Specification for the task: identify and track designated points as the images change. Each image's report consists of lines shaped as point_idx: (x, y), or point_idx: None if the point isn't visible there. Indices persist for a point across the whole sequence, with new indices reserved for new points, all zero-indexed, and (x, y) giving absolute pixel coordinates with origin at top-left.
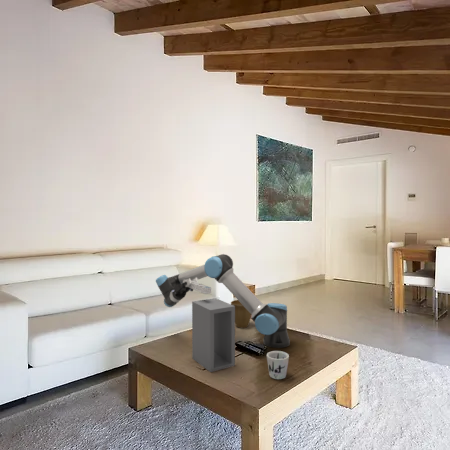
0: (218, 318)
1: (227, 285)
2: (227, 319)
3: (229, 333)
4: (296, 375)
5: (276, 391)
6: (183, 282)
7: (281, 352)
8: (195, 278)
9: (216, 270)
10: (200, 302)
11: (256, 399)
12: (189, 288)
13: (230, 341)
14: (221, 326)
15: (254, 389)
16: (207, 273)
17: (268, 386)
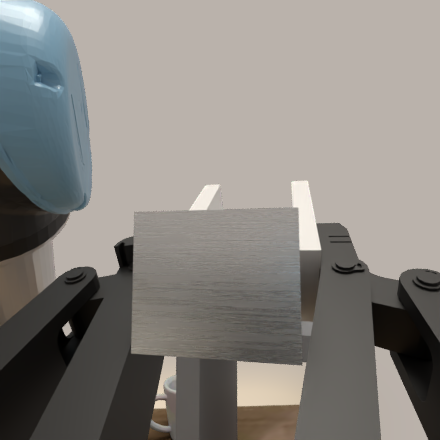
0: (216, 407)
1: (47, 268)
2: (231, 360)
3: (234, 407)
4: (160, 418)
5: (246, 411)
6: (298, 275)
7: (167, 385)
8: (218, 193)
9: (87, 151)
10: (311, 324)
11: (297, 414)
12: (147, 432)
13: (235, 433)
14: (223, 427)
15: (276, 430)
16: (76, 160)
17: (243, 423)
